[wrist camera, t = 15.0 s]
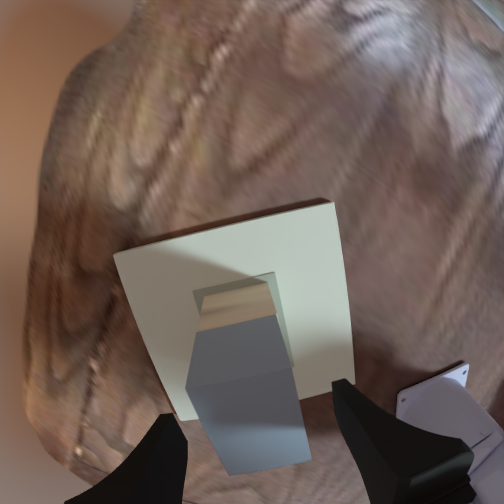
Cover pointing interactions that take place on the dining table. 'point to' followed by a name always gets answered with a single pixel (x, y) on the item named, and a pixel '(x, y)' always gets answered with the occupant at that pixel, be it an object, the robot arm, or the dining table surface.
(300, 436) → the slate brick
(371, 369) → the dining table surface
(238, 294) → the birch brick
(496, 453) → the robot arm
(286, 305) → the plate
